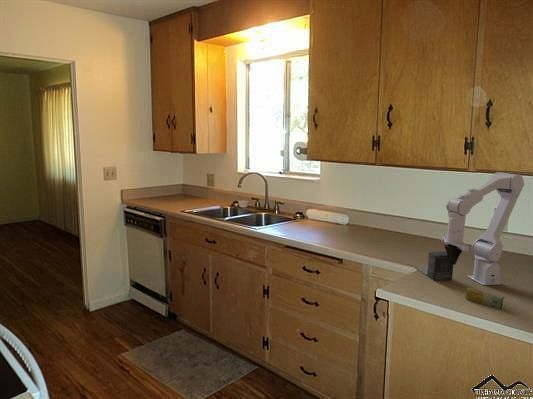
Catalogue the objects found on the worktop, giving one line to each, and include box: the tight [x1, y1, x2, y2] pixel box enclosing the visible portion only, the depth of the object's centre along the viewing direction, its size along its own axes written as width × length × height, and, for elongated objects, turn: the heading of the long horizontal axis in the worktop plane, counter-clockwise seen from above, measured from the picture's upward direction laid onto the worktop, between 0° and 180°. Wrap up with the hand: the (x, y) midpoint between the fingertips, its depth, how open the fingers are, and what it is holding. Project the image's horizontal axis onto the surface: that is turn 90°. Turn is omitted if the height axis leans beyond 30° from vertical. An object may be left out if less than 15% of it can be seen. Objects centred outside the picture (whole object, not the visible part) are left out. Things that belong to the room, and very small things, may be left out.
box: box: [426, 250, 454, 282], centre depth 169 cm, size 8×6×11 cm
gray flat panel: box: [414, 266, 428, 276], centre depth 177 cm, size 9×8×1 cm
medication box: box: [465, 287, 506, 310], centre depth 146 cm, size 12×3×4 cm, turn 47°
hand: (452, 264), depth 161 cm, fingers closed
